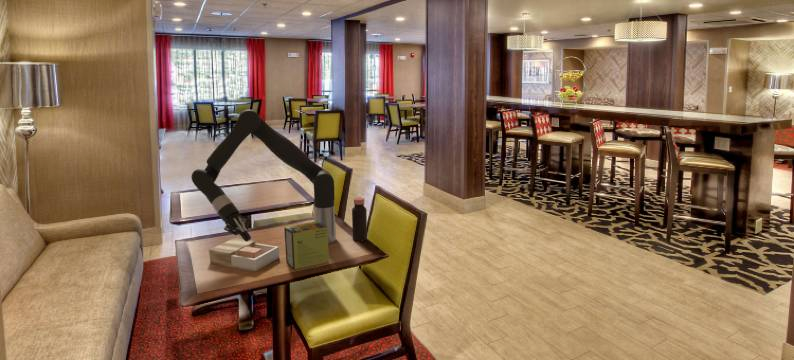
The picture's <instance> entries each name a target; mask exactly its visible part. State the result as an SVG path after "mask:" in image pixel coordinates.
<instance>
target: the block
mask: <svg viewBox="0 0 794 360" xmlns="http://www.w3.org/2000/svg"><path fill="white" fill-rule="evenodd" d="M238 252H239V256H242V257H248V258H253V259H255V258H256V257H258V256H260V255H262V249H260V248H253V247H244V248H242V249H240V250H238Z"/></svg>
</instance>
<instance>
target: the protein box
mask: <svg viewBox="0 0 794 360" xmlns="http://www.w3.org/2000/svg"><path fill="white" fill-rule="evenodd" d="M283 228H284V241H285V242H284V243H285V244H284V246H285V260H286V261H285V262H286V263H287V264H288V265H290V267H292V269H294V270H298V269H303V268H307V267H312V266H316V265H321V264H325V263H329V261H330V257H329V256H330V255H329V253H330V252H329V244H328V227H327V226H325V225H324V224H322V223H320V222H319V221H315V220H314V221H310V222H305V223H304V222H303V223H299V224H294V225H288V226H284V227H283Z"/></svg>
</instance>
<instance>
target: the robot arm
mask: <svg viewBox="0 0 794 360" xmlns="http://www.w3.org/2000/svg"><path fill="white" fill-rule="evenodd" d="M251 134H252V135H253V136H254V137H256V138H257V139H259V141H260V142H262V143H263V144H264V145H265V147H266V148H267V149H269V151H270V152H271V153H272V154H274V155H275V157H277V158H278V159H279V160H281V162H283V163H284V164H286V165H287V166H288V167H291V168H292V169H295V171H297V172H299V173H301V174H302V175H304V176H305V178H307V179H308V180H309V181H310V182H311V183H312V185H313V209H314V214H313V215H314V221H319V222H320V223H322V224H324V225H325V226H327V227H328V245H329V244H332V243H334V242H336V239H337V233H336V232H337V231H336V227H337V225H336V219H335V218H336V217H335V198H336V197H335V180H334V177H333V175H332V174H331V172H329V171H327V170H326V169H324V168H322V167H321V166H320V165H318V164H317V163H315V161H313V160H312V159H311V158H310V157H309V156H308V155H307V154H306V153H305V152H304V151H303V150H302V149H300V147H299V146H297V145H296V144H295V143H294V142H293V141H291V140H290V139H289V138H287V137H286V136H285V135H284V134H282V133H280V132H279V131H277V130H275V129H274V128H272V127H271V126H270V125H269V124H268V123H267V122H266V121H264V119H263V118H262V117H261V116H260V115H259V114H258V112H256V111H255V110H253V109H244V110H242V111H241V112H240V113H239V115H238V117H237V120H236V122H235V124H234V126H233V127H232V129H231V131H230V132H229V133H228V135H227V136H226V137H225V138H224V139H223V140H222V141H221V142H220V143H219V144H218V145H217V146H216V148H215V149H214V150H213V152H212V153H211V154H210V155H209V157H208V158H207V159H206V164H207V165H206V166H205V168H204V169H203V168H202V169H201V168H197V169H195V170H193V172H192V173H191V182H192V183H193V185H194V186H195V188H197V189H198V190H199V191H200V193H202V194H203V195H204V196H205V197H206V199H207V200H208V202H209V203H210V204H211V206H212V208H213V209H214V211H215V212H216V214H217V215H218V216H219V217H220V219H221V221H223V222H224V224H225V226H224V227H223V231H226V232H228V233H229V234H230V233H231V234H232V235H233V236H240V237H241V239H244V240H245V241H246V242H247V241H249V240H251V239H252V236H251V235H250V233H249V232H248V230H249V229H250V219H249V217H246V218H245V217H243V215H241V214H240V212H239V211H240V210H239V209H238V207H236V206H235V204H234V202H233V201H232V200H231V198H230V197H229V196H228V195H227V194H226V193H225V192H224V190H223V189H222V188H221V187H220V186H219V185H218V184H216V183H215V182H216V180H217V179H218V177H219V175H220V173H221V170H222V169H223V168H224V167H225V165H226V164H227V162H228V161H229V160H230V159H231V157H232V156H233V155H234V153H235V152H236V151H237V150H238V148H239V147H240V145H241V144H242V142H244V141H245V140H246V138H247V137H249V135H251Z"/></svg>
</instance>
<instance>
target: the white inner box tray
mask: <svg viewBox="0 0 794 360" xmlns="http://www.w3.org/2000/svg"><path fill="white" fill-rule="evenodd" d="M254 245H255V248H260V249H262V255H260V256H258V257H256V258H255V259H253V258H248V257H242V256H236V255H231V265H232V267H231V268H233V269H234V268H235V269H240V270H245V271H251V272H258V271H259V270H261V269H263V268H264V267H266V266H269V264H271V263H273V262H275V261H276V260H279V259H280V247H279V246H275V245H270V244H264V243H258V242H255V244H254Z"/></svg>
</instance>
